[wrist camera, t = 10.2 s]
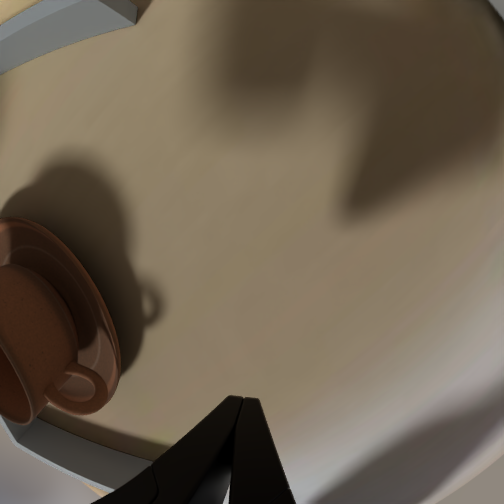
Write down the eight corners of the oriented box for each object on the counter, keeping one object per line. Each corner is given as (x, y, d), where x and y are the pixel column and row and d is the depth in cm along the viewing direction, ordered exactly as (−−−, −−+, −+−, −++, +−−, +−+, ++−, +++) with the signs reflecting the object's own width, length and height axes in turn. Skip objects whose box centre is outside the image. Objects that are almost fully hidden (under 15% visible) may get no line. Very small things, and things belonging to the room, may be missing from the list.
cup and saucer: (116, 205, 13) (15, 241, 7) (153, 410, 17) (110, 487, 11) (-21, 214, 15) (-92, 239, 9) (20, 369, 18) (-27, 413, 12)
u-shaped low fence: (174, 473, 18) (160, 509, 15) (34, 422, 20) (14, 445, 17) (137, 7, 10) (96, -24, 7) (-30, 79, 12) (-67, 77, 9)
